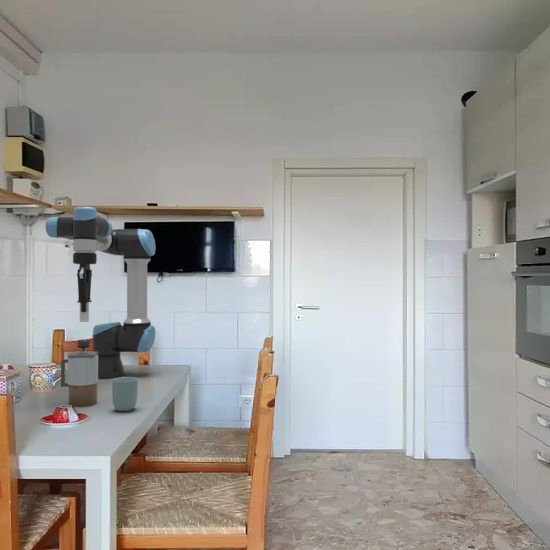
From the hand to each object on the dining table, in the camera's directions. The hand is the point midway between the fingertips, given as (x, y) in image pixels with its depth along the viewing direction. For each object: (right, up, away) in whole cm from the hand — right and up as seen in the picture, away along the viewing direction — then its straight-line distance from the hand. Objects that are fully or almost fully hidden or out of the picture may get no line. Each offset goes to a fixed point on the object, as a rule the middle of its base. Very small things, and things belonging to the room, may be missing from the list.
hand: (84, 321), depth 169 cm
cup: (+17, -28, -9) cm, 34 cm away
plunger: (0, -20, -1) cm, 20 cm away
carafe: (-1, -28, -1) cm, 28 cm away
